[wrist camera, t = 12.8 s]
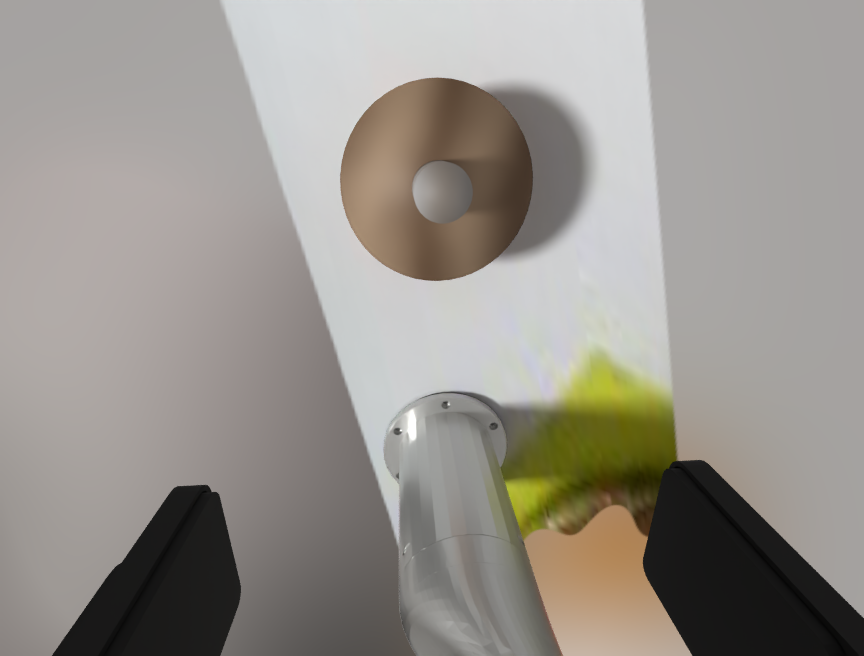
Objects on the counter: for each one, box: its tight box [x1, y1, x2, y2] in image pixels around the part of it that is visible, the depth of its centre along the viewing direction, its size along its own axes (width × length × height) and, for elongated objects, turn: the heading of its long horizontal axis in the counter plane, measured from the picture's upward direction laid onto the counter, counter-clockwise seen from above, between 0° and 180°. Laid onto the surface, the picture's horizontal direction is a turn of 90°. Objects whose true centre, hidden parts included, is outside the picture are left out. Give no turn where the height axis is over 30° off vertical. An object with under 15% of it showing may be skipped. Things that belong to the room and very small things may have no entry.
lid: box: [340, 78, 533, 281], centre depth 28 cm, size 13×13×5 cm
